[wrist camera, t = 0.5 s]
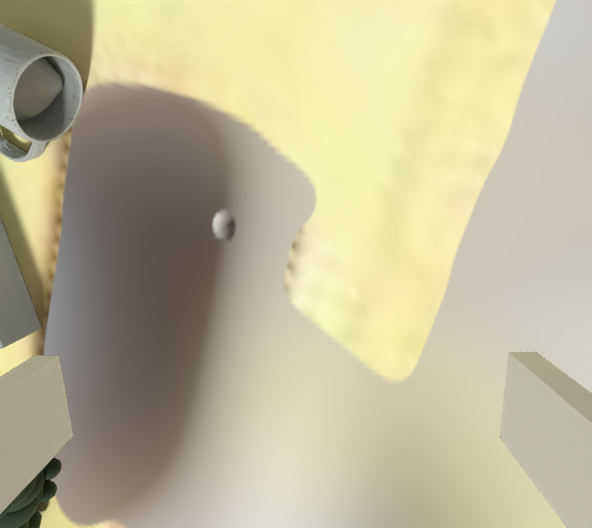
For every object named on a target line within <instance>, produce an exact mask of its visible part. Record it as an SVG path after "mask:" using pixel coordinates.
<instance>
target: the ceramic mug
mask: <svg viewBox="0 0 592 528" xmlns="http://www.w3.org/2000/svg"><path fill="white" fill-rule="evenodd" d="M82 98H83V85H82V79H81V76H80V73H79V71H78V69H77V68H76V66H75V65H74V63H73V62H72V61H71V60H70V59H69V58H68V57H66V56H65V55H63V54H62V53H60V52H58V51H56V50H54V49H52V48H49V47H47V46H45V45H43V44H41V43H39V42H37V41H35V40H33V39H31V38H29V37H27V36H25V35H23V34H20V33H18V32H16V31H14V30H12V29H10V28H8V27H7V26H5V25H3V24H1V23H0V125H1V126H3V127H5V128H7V129H8V130H10V131H12V132H13V133H15V134H17V135H19V136H20V137H22V138H24V139H26V140H29V141H32V144H31V147H30V150H29V152H28V153H26V152H24V151H22V150H21V149H19V148H17V147H16V146H14V145H13V144H11V143H10V142H9V141H8V140H6V139H5V138H4V137H3V136H2V134H1V132H0V153H1V154H2V155H4V156H5V157H7V158H9V159H11V160H13V161H17V162H26V161H29V160H31V159H34V158H37V157H39V156H40V155H41V154H43V152H44V150H45V148H46V145H47V142H50V141H53V140H55V139H58V138H59V137H60V136H62V135H63V134H64V133H65V132H66V131H67V130H68V129H69V128H70V127H71V126H72V124H73V123H74V121H75V120H76V117H77V115H78V113H79V110H80V107H81V103H82Z"/></svg>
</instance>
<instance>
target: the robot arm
mask: <svg viewBox="0 0 592 528" xmlns="http://www.w3.org/2000/svg"><path fill="white" fill-rule="evenodd" d="M72 437H73V432H72V427H71V422H70V415H69V410H68V404H67V398H66V392H65V387H64V381H63V375H62V370H61V364H60V358H59V355H57V356H56V355H47V356H33V357H31V358H30V359H28V360H26V361H25V362H23V363H22V364H20V365H18V366H17V367H15V368H13V369H12V370H10V371H9V372H7V373H5V374H4V375H2V376H1V377H0V514H1V513H2V512H3V511H4V510H5V508H6V507H7V506H8V505H9V504H10V503H11V502H12V501H13V500H14V499H15V498H16V497H17V496H18V495H19V494H20V493H21V491H22V490H23V489H24V488H25V487H26V486H27V485H28V484H29V483H30V482H31V481H32V480H33V479H34V478H35V477H36V475H37V474H38V473H39V472H40V471H41V470H42V469H43V468H44V467H45V466H46V465H47V464H48V463H49V462H50V461H51V460H52V458H53V457H54V456H55V455H56V454H57V453H58V452H59V451H60V450H61V449H62V448H63V447H64V446H65V445H66V443H68V441H69V440H70V439H71V438H72ZM500 438H501V440H502V441H503V443H504V444H505V445H506V447H507V448H508V449H509V451H510V452H511V453H512V454H513V456H514V457H515V459H516V460H517V461H518V463H519V464H520V465H521V466H522V468H523V469H524V471H525V472H526V473H527V475H528V476H529V477H530V479H531V480H532V482H533V483H534V484H535V486H536V487H537V488H538V490H539V491H540V492H541V494H542V495H543V496H544V498H545V499H546V500H547V501H548V503H549V504H550V506H551V507H552V508H553V510H554V511H555V512H556V514H557V515H558V516H559V518H560V519H561V521H562V522H563V523H564V524H565V526H566V527H567V528H592V393H590V392H589V391H588V390H586V389H585V388H584V387H582V386H581V385H580V384H578V383H577V382H576V381H574V380H573V379H572V378H570V377H569V376H568V375H566V374H565V373H564V372H562V371H561V370H560V369H558V368H557V367H556V366H554V365H553V364H552V363H550V362H549V361H548V360H546V359H545V358H544V357H542V356H541V355H540V354H538V353H537V352H509V354H508V364H507V374H506V383H505V393H504V403H503V413H502V423H501V432H500Z"/></svg>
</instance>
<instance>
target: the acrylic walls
mask: <svg viewBox="0 0 592 528" xmlns="http://www.w3.org/2000/svg"><path fill="white" fill-rule="evenodd" d="M41 328H42V327H41V324H40V322H39V319H38V316H37V314H36V311H35V308H34V306H33V303H32V300H31V298H30V295H29V292H28V290H27V287H26V284H25V282H24V279H23V276H22V274H21V271H20V268H19V266H18V263H17V260H16V258H15V255H14V252H13V250H12V247H11V244H10V242H9V239H8V236H7V234H6V231H5V228H4V226H3V223H2V220H1V218H0V349H1V348H4V347H6V346H8V345H10V344H12V343H14V342H16V341H18V340H20V339H21V338H23V337H25V336H27V335H29V334H31V333H33V332H35V331H37V330H39V329H41Z"/></svg>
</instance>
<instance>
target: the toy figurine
mask: <svg viewBox="0 0 592 528" xmlns="http://www.w3.org/2000/svg"><path fill="white" fill-rule="evenodd" d="M60 470H61V462H60V460H58V459H56V458H52V460H51V461H50V462H49V463H48V464H47V465H46V466H45V467H44V468H43V469H42V470H41V471H40V472H39V473H38V474H37V475H36V477H35V478H34V479H33V480H32V481H31V482H30V483H29V484H28V485H27V486H26V487H25V488H24V489H23V490H22V491H21V493H20V494H19V495H18V496H17V497H16V498H15V499H14V500H13V501H12V502H11V503H10V504H9V505H8V506H7V507H6V508H5V510H4V511H3V512H2V513H1V514H0V528H39V527H40V524H41V518H42V516H41V514H40V513H39V512H37V511H36V510H37V509H38V507H39V504H40V502H47V501H48V500H49V499H51V498H52V497H53V496H55V493H56V490H57V486H56V484H55V483H54V482H51V481H45V479H46V480H48V479H52V478H54V477H56V476H57V474H58V473H59V472H60Z"/></svg>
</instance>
